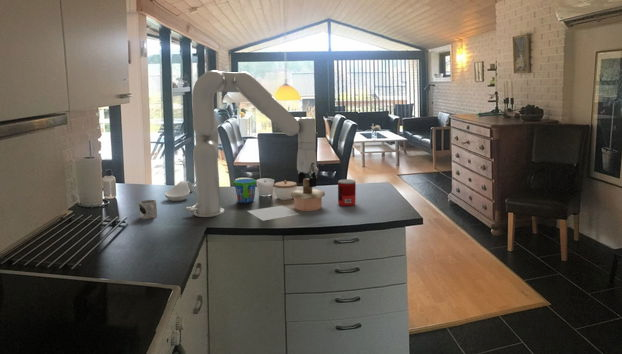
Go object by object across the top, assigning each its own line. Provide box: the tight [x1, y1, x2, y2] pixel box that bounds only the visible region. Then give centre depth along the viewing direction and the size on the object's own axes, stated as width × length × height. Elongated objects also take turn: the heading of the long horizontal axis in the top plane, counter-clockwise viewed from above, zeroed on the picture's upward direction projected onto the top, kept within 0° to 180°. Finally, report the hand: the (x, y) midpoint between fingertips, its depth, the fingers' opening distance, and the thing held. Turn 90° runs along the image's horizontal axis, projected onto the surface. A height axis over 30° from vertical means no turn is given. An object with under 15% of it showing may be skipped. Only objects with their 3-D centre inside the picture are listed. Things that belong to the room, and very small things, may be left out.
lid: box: [291, 177, 326, 199], centre depth 191 cm, size 15×15×7 cm
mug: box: [138, 199, 158, 220], centre depth 180 cm, size 10×7×7 cm, turn 38°
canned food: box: [337, 178, 357, 207], centre depth 197 cm, size 8×8×11 cm
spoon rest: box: [164, 180, 194, 202], centre depth 216 cm, size 24×12×7 cm, turn 179°
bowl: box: [293, 197, 323, 212], centre depth 192 cm, size 12×12×6 cm
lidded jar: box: [273, 179, 298, 201], centre depth 208 cm, size 11×11×9 cm
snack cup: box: [233, 178, 257, 204], centre depth 204 cm, size 16×10×10 cm
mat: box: [247, 205, 301, 222], centre depth 184 cm, size 17×17×1 cm
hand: (307, 184), depth 190 cm, fingers open, 9 cm apart
